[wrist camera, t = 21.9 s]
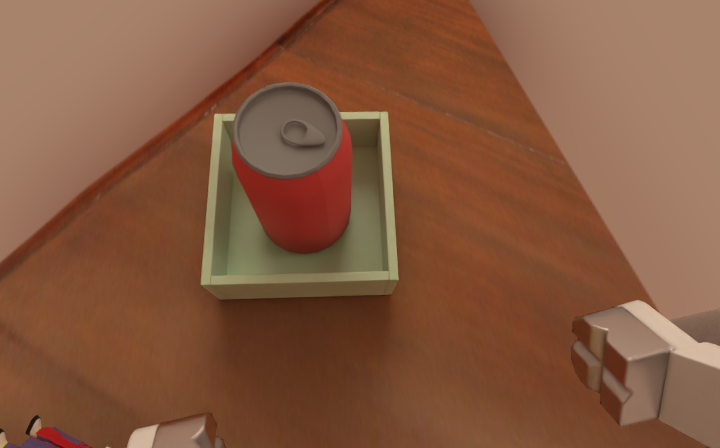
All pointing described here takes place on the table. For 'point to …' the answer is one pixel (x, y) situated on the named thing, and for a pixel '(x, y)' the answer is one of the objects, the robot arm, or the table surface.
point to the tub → (294, 270)
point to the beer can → (294, 165)
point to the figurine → (44, 438)
